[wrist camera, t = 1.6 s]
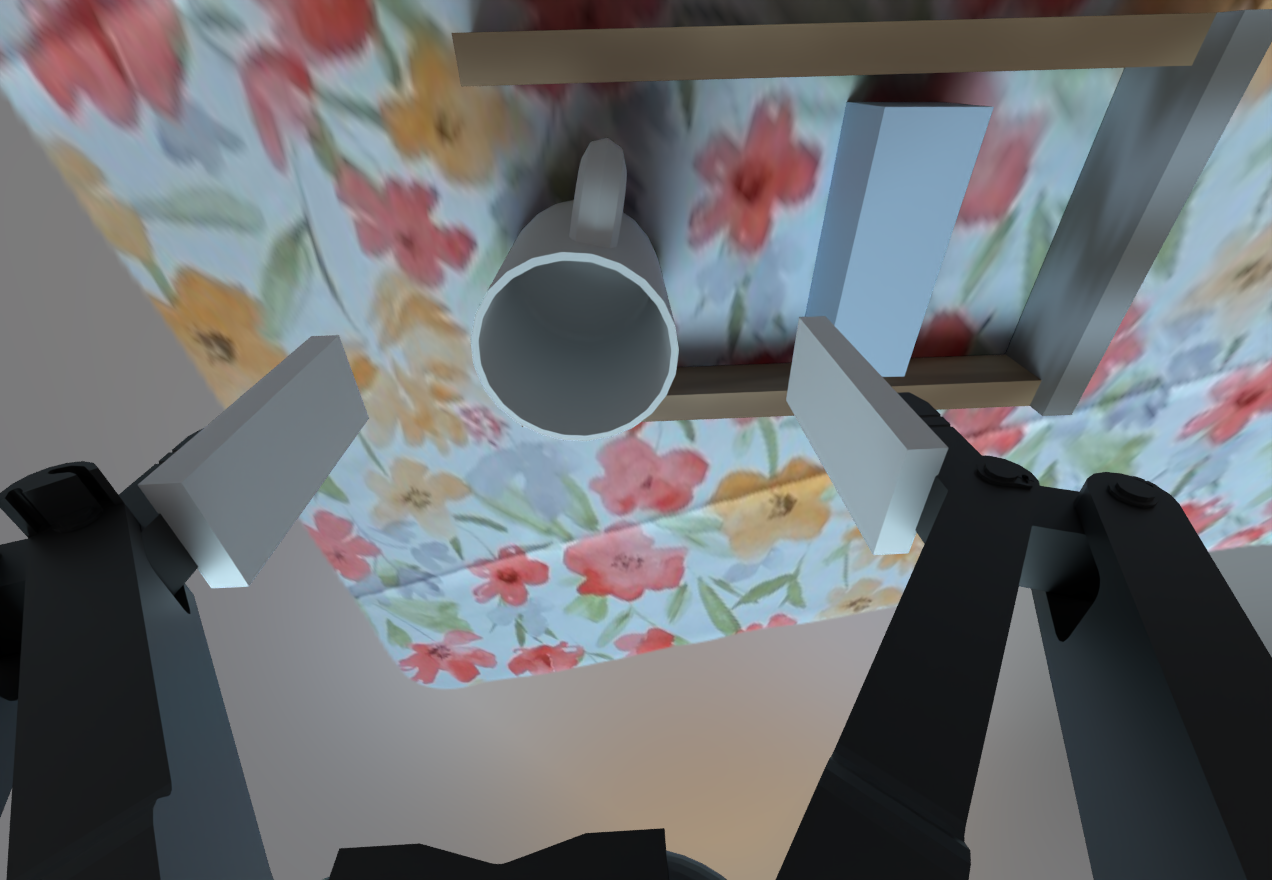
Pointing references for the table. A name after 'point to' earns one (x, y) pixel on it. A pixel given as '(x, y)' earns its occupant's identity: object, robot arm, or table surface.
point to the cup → (579, 315)
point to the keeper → (892, 220)
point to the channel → (1125, 144)
